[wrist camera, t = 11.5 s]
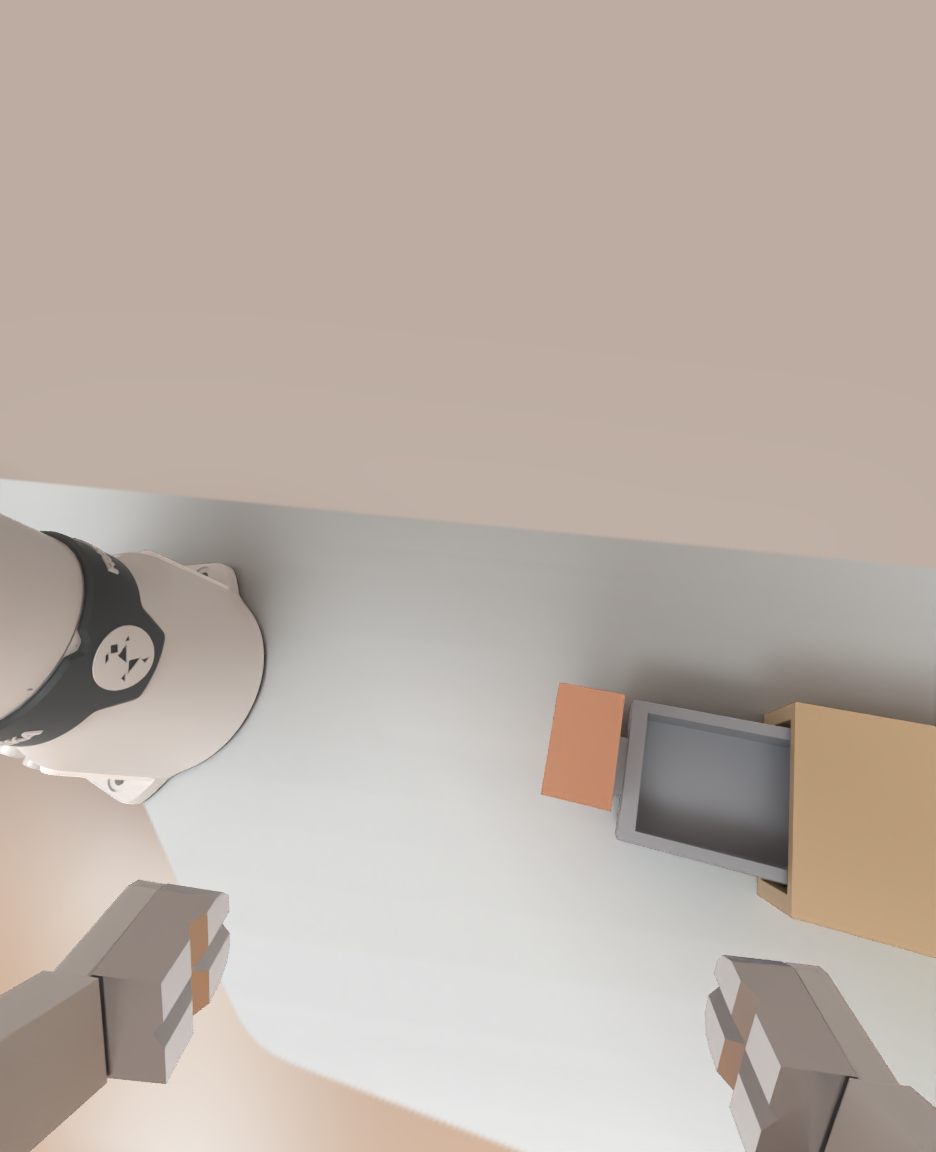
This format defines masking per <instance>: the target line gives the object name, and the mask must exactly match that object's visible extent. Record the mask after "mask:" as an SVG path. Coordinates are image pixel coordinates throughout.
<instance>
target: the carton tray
mask: <svg viewBox="0 0 936 1152" xmlns="http://www.w3.org/2000/svg"><path fill="white" fill-rule="evenodd" d="M624 701H625V694H619V693H614V692H608V691H603V690H598V689H592V688H587V687H582V686H576V685H571V684H565V683H560V682H559V688H558V694H557V700H556V706H555V712H554V718H553V725H552V731H551V737H550V743H549V749H548V755H547V761H546V767H545V773H544V779H543V785H542V791H541V794H543V795H547V796H551V797H555V798H559V799H563V800H567V801H571V802H575V803H579V804H583V805H587V806H591V807H595V808H599V809H603V810H607V811H611V806H612V798H613V794H616V795H620V797H619V806H618V814H617V822H616V831H615V835H616V837H617V840H621V841H624V842H628V843H632V844H636V845H640V846H643V847H647V848H651V849H655V850H658V851H662V852H666V853H670V854H674V855H677V856H681V857H685V858H689V859H692V860H696V861H700V862H704V863H708V864H711V865H715V866H719V867H723V868H727V869H730V870H734V871H738V872H742V873H745V874H749V875H753V876H757V877H761V878H764V879H768V880H772V881H776V882H780V883H783V884H787V885H788V842H789V794H790V747H791V728H786V727H781V726H775V725H770V724H765V723H759V722H754V721H749V720H743V719H738V718H733V717H727V716H722V715H717V714H711V713H706V712H701V711H695V710H690V709H685V708H679V707H674V706H669V705H663V704H658V703H653V702H647V701H642V700H637V699H634V700H633V702H632V705H631V707H630V714H629V722H628V731H627V738H624V737H620V733H621V725H622V717H623V709H624Z"/></svg>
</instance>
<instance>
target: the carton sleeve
mask: <svg viewBox="0 0 936 1152" xmlns="http://www.w3.org/2000/svg"><path fill="white" fill-rule="evenodd" d="M764 723H765V724H770V725H775V726H781V727H786V728H791V747H790V794H789V842H788V885H787V884H783V883H780V882H776V881H772V880H768V879H764V878H761V877H758V889H757V895H759V896H760V897H761V898H763V899H764V900H766V901H767V902H769V903H770V904H772V905H773V906H775V907H776V908H778V909H779V910H781V911H782V912H784V913H785V914H787V915H788V916H790V917H791V918H794V919H798V920H801V921H805V922H808V923H812V924H816V925H819V926H823V927H826V928H830V929H833V930H837V931H841V932H844V933H848V934H851V935H855V936H858V937H862V938H866V939H869V940H873V941H876V942H880V943H883V944H887V945H891V946H894V947H898V948H901V949H905V950H909V951H912V952H916V953H919V954H923V955H926V956H930V957H934V958H936V726H932V725H926V724H921V723H915V722H909V721H903V720H898V719H892V718H886V717H880V716H875V715H869V714H863V713H857V712H852V711H846V710H840V709H834V708H829V707H823V706H817V705H811V704H806V703H800V702H794V703H791V704H789V705H787V706H784V707H782V708H779V709H777V710H775V711H772V712H770V713H768V714H765V715H764Z"/></svg>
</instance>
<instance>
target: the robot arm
mask: <svg viewBox="0 0 936 1152" xmlns="http://www.w3.org/2000/svg"><path fill="white" fill-rule="evenodd" d="M263 666H264V647H263V640H262V635H261V632H260V629H259V626H258V624H257V621H256V619H255V618H254V616H253V614H252V613H251V611H250V610H249V609H248V608H247V606H246V605H245V604H244V602H243V601H242V599H241V597H240V595H239V590H238V584H237V579H236V575H235V573H234V571H233V569H232V568H231V567H228V566H226V565H224V564H221V563H209V564H195V565H181V564H179V563H177V562H175V561H172V560H170V559H168V558H166V557H164V556H161V555H159V554H157V553H155V552H152V551H148V550H142V551H141V552H140V553H123V554H118V555H113V556H111V555H109V554H107V553H105V552H104V551H102V550H100V549H98V547H96V546H94V545H91V544H89V543H87V542H85V541H82V540H78V539H76V538H74V539H73V538H71V537H68V536H66V535H63V534H60V533H57V532H52V531H38V530H35V529H33V528H31V527H29V526H27V525H24V524H22V523H20V522H18V521H16V520H13V519H11V518H9V517H7V516H5V515H3V514H0V753H1V754H4V755H7V756H10V757H15V758H23V759H24V761H23V765H25V766H27V767H30V768H33V769H39V770H41V772H42V773H45V774H50V775H58V776H72V777H84V778H86V779H87V780H89V781H90V782H92V783H93V784H94V785H96V786H97V787H99V788H100V789H102V790H103V791H105V792H106V793H108V794H109V795H110V796H112V797H113V798H115V799H116V800H118V801H119V802H121V803H126V804H139V803H142V802H143V801H145V800H146V799H148V798H149V797H150V796H151V795H152V794H153V793H154V792H156V791H157V790H158V789H159V788H160V787H161V786H162V785H163V784H164V783H165V782H166V781H167V780H168V779H169V778H170V777H172V776H174V775H176V774H178V773H180V772H182V771H184V770H187V769H189V768H191V767H194V766H196V765H197V764H199V763H201V762H203V761H205V760H206V759H208V758H209V757H210V756H212V755H213V754H214V753H216V752H217V751H218V750H219V749H220V748H222V747H223V746H224V745H225V744H226V743H227V742H228V741H229V740H230V739H231V737H232V736H233V735H234V734H235V733H236V731H237V730H238V729H239V727H240V726H241V724H242V723H243V721H244V720H245V718H246V717H247V715H248V713H249V711H250V709H251V707H252V705H253V703H254V701H255V698H256V695H257V693H258V690H259V686H260V683H261V678H262V673H263ZM123 780H124V782H123ZM228 913H229V897H228V894H225V893H223V892H217V891H211V890H204V889H198V888H192V887H185V886H179V885H172V884H162V883H156V882H150V881H143V880H138V881H136V882H134V883H132V884H131V885H129V886H128V887H127V888H126V889H125V890H124V891H123V892H122V893H121V894H120V896H119V897H118V898H117V899H116V900H115V901H114V902H113V904H112V905H111V906H110V907H109V908H108V909H107V910H106V912H105V913H104V914H103V915H102V916H101V917H100V919H99V920H98V921H97V922H96V923H95V924H94V926H93V927H92V928H91V929H90V930H89V931H88V932H87V933H86V935H85V936H84V937H83V938H82V939H81V940H80V941H79V943H78V944H77V945H76V946H75V947H74V948H73V949H72V951H71V952H70V953H69V954H68V955H67V956H66V958H65V959H64V960H63V961H62V962H61V963H60V964H59V965H58V967H57V968H56V969H55V970H54V971H42V972H40V973H39V974H37V975H35V976H33V977H31V978H30V979H28V980H26V981H24V982H23V983H21V984H19V985H17V986H16V987H14V988H12V989H11V990H9V991H7V992H5V993H4V994H2V995H0V1152H30V1151H31V1150H32V1149H33V1148H34V1147H36V1146H37V1145H38V1144H39V1143H40V1142H41V1141H42V1140H43V1139H44V1138H45V1137H47V1136H48V1135H49V1134H50V1133H51V1132H52V1131H53V1130H55V1129H56V1128H57V1127H58V1126H59V1125H60V1124H61V1123H62V1122H63V1121H65V1120H66V1119H67V1118H68V1117H69V1116H70V1115H71V1114H72V1113H74V1112H75V1111H76V1110H77V1109H78V1108H79V1107H80V1106H81V1105H82V1104H84V1103H85V1102H86V1101H87V1100H88V1099H89V1098H90V1097H91V1096H92V1095H94V1094H95V1093H96V1092H97V1091H98V1090H99V1089H100V1088H102V1087H103V1086H104V1085H105V1084H106V1083H107V1078H113V1079H123V1080H133V1081H142V1082H152V1083H162V1084H166V1083H167V1082H168V1080H169V1078H170V1076H171V1074H172V1072H173V1070H174V1069H175V1067H176V1065H177V1063H178V1061H179V1059H180V1057H181V1055H182V1054H183V1052H184V1050H185V1048H186V1046H187V1044H188V1042H189V1041H190V1039H191V1037H192V1035H193V1015H194V1014H196V1013H197V1012H198V1011H199V1010H201V1009H202V1008H204V1007H205V1006H206V1005H207V1004H209V1003H210V1001H211V999H212V997H213V995H214V993H215V991H216V989H217V987H218V985H219V983H220V980H221V977H222V975H223V972H224V969H225V966H226V963H227V958H228V952H229V946H230V933H229V932H228V931H227V929H226V928H225V927H224V925H223V924H222V923H223V921H224V920H225V918H226V916H227V914H228ZM714 975H715V977H716V980H717V982H718V984H719V987H718V988H717V989H716V990H715V991H713V992H712V993H711V994H710V995H708V1000H707V1005H706V1010H705V1023H706V1036H707V1040H708V1045H709V1049H710V1053H711V1056H712V1059H713V1062H714V1065H715V1067H716V1070H717V1072H718V1073H719V1074H720V1075H721V1076H722V1078H723V1079H724V1080H725V1081H726V1082H727V1083H728V1084H729V1086H730V1087H731V1088H732V1089H733V1090H734V1091H733V1095H732V1099H731V1103H730V1110H731V1112H732V1115H733V1118H734V1121H735V1123H736V1126H737V1129H738V1132H739V1134H740V1137H741V1140H742V1143H743V1145H744V1148H745V1151H746V1152H936V1108H935V1107H934V1106H933V1105H932V1104H930V1103H929V1102H928V1101H927V1100H926V1099H925V1098H923V1097H922V1096H921V1095H920V1094H919V1093H918V1092H916V1091H915V1090H914V1089H913V1088H912V1087H910V1086H904V1085H899V1083H898V1081H897V1080H896V1078H895V1077H894V1075H893V1074H892V1072H891V1071H890V1069H889V1068H888V1066H887V1064H886V1063H885V1061H884V1060H883V1058H882V1057H881V1055H880V1054H879V1052H878V1051H877V1049H876V1047H875V1046H874V1044H873V1043H872V1041H871V1040H870V1038H869V1037H868V1035H867V1034H866V1032H865V1030H864V1029H863V1027H862V1026H861V1024H860V1023H859V1021H858V1020H857V1018H856V1017H855V1015H854V1014H853V1012H852V1010H851V1009H850V1007H849V1006H848V1004H847V1003H846V1001H845V1000H844V998H843V997H842V995H841V993H840V992H839V990H838V989H837V987H836V986H835V984H834V983H833V981H832V980H831V978H830V976H829V975H828V974H827V973H826V972H825V971H824V970H823V969H822V968H821V967H819V966H812V965H803V964H795V963H783V962H780V961H771V960H762V959H754V958H745V957H736V956H727V955H722V956H721V957H720V958H719V959H718V961H717V964H716V968H715V971H714Z"/></svg>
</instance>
